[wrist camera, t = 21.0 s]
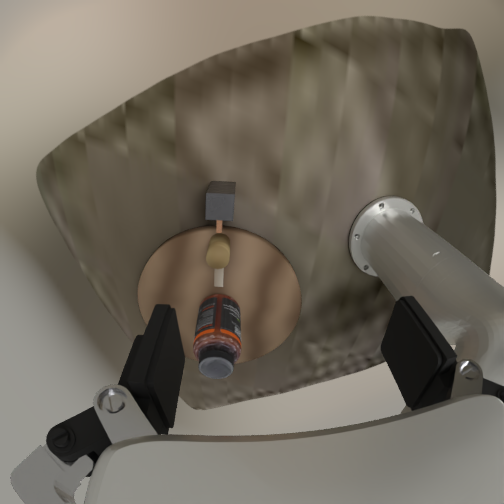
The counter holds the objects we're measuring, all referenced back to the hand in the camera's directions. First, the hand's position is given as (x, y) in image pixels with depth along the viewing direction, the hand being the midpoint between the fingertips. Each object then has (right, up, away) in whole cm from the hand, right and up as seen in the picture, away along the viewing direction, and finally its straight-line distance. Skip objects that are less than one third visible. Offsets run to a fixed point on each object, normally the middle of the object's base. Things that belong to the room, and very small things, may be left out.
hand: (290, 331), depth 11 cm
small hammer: (-5, +11, +24) cm, 27 cm away
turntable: (-6, -4, +31) cm, 32 cm away
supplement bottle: (-6, -5, +29) cm, 30 cm away
